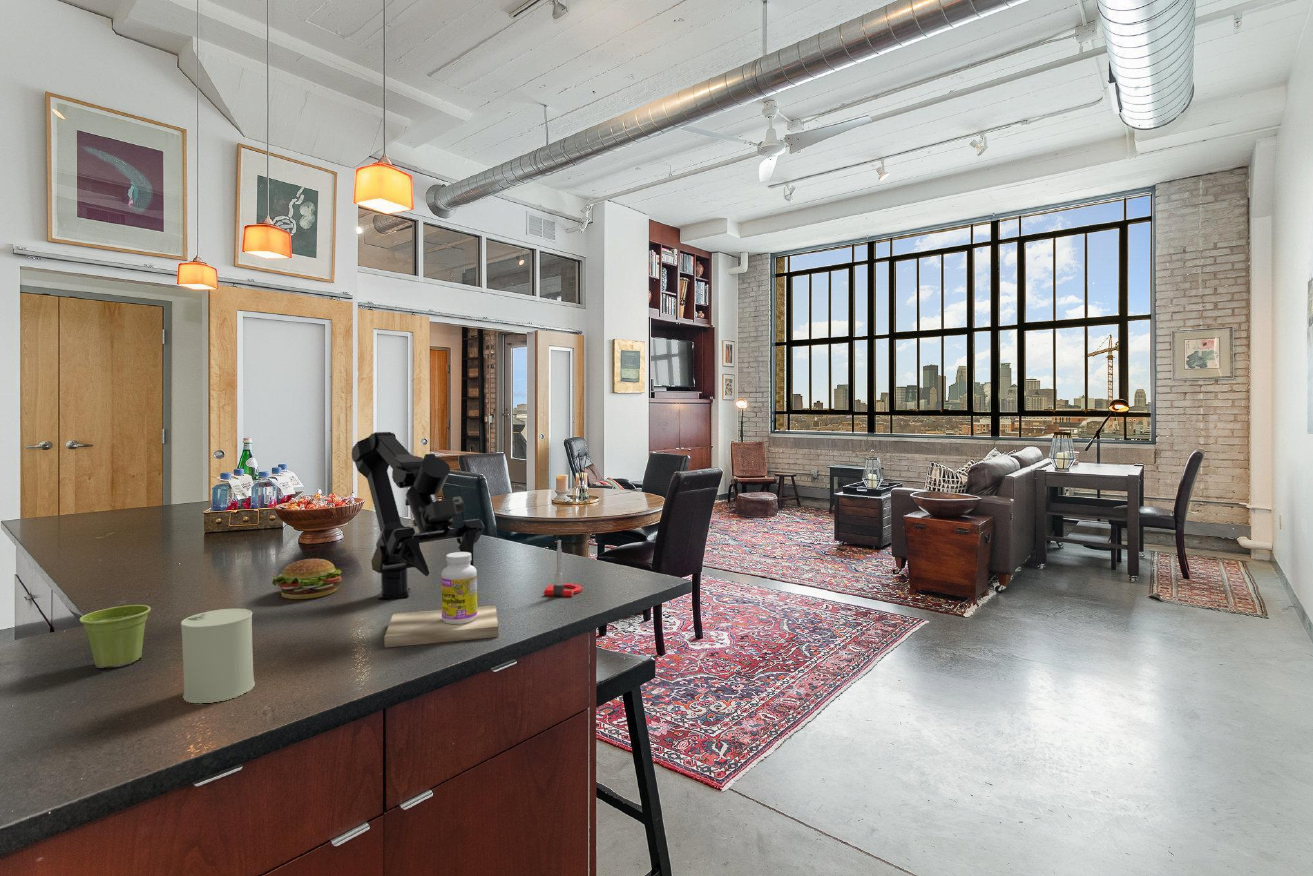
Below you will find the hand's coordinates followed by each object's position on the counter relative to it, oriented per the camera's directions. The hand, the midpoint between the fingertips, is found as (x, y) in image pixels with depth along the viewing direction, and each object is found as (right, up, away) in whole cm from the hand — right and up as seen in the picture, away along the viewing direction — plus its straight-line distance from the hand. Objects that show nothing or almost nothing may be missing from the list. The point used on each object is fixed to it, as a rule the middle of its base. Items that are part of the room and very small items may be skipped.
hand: (450, 571), depth 132 cm
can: (-26, -13, -30) cm, 42 cm away
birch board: (0, -11, -2) cm, 11 cm away
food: (-41, -10, +25) cm, 49 cm away
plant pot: (-51, -12, -18) cm, 56 cm away
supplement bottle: (+3, -9, -2) cm, 10 cm away
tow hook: (+19, -10, +25) cm, 33 cm away
